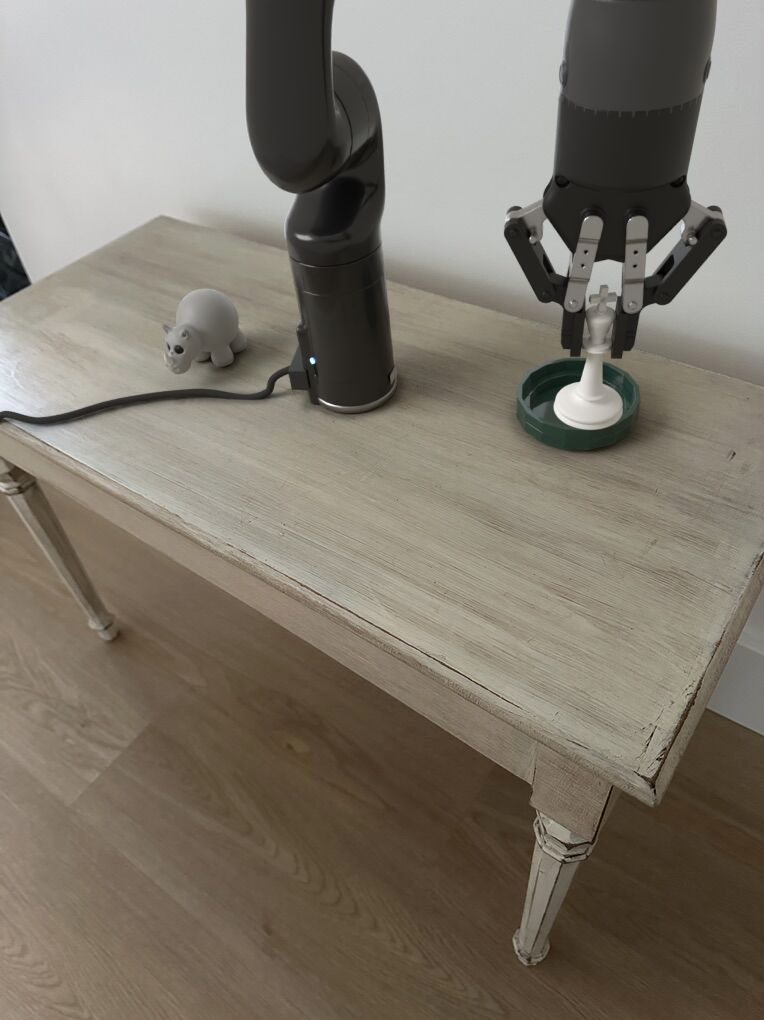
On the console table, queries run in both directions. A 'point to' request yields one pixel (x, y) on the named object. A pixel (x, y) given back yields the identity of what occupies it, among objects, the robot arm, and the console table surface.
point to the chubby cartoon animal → (203, 331)
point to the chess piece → (592, 374)
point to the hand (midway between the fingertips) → (594, 350)
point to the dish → (541, 394)
